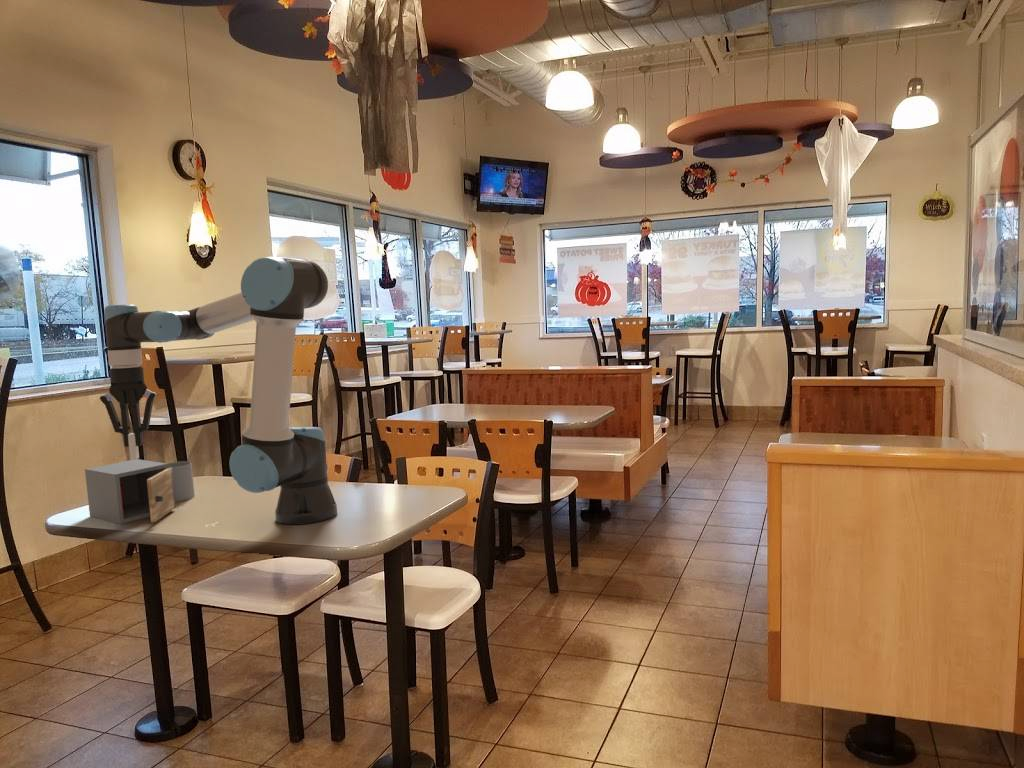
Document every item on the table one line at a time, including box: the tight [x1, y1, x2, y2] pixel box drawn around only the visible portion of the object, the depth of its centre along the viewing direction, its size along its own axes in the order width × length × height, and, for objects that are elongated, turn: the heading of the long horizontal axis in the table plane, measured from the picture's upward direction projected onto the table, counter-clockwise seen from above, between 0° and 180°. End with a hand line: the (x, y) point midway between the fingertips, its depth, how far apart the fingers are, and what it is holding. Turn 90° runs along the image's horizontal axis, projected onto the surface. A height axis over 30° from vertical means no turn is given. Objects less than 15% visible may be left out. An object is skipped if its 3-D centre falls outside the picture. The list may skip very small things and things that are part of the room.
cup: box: [167, 461, 196, 503], centre depth 212 cm, size 8×8×10 cm
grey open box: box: [84, 458, 168, 525], centre depth 197 cm, size 16×14×13 cm
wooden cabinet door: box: [147, 468, 176, 523], centre depth 191 cm, size 2×14×11 cm, turn 5°
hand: (134, 458), depth 186 cm, fingers closed
